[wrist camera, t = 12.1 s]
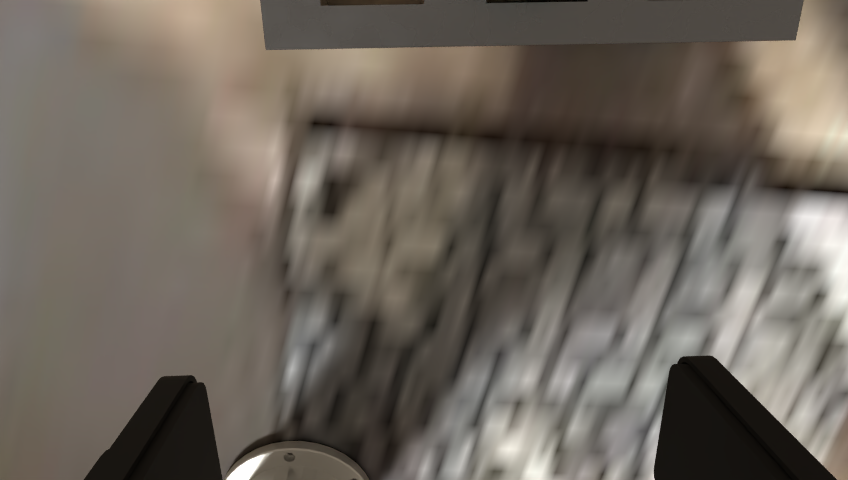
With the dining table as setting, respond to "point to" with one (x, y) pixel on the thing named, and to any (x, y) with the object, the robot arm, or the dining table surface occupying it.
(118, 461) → the robot arm
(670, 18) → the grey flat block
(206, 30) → the dining table surface
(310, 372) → the dining table surface
